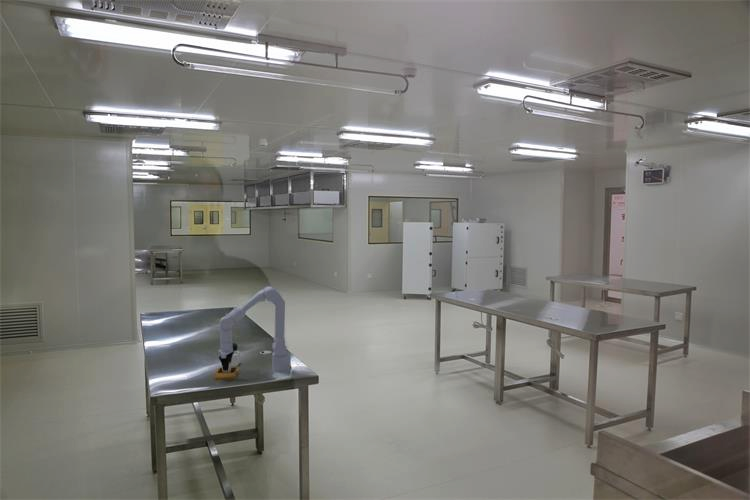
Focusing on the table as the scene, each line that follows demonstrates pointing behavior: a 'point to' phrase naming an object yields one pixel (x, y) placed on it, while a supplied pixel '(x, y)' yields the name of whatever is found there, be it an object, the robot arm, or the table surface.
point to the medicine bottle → (235, 356)
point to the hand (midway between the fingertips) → (226, 368)
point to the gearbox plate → (236, 374)
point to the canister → (228, 369)
